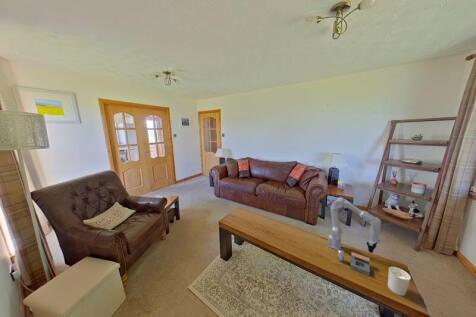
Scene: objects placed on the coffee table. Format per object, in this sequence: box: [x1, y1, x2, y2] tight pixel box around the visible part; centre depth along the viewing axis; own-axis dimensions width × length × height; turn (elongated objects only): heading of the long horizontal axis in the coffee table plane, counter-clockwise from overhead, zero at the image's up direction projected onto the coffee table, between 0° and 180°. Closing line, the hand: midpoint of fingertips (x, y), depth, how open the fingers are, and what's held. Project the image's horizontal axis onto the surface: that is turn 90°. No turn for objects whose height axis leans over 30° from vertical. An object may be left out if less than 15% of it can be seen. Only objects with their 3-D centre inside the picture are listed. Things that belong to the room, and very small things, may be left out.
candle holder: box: [387, 266, 412, 297], centre depth 102 cm, size 10×10×12 cm
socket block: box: [349, 251, 371, 277], centre depth 120 cm, size 11×12×6 cm
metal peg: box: [337, 248, 345, 263], centre depth 126 cm, size 4×4×8 cm
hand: (371, 249), depth 124 cm, fingers open, 7 cm apart
